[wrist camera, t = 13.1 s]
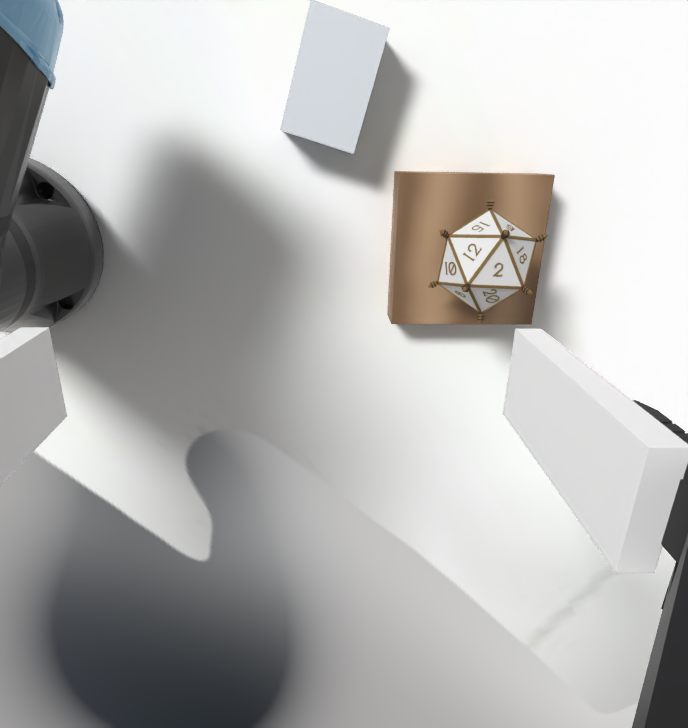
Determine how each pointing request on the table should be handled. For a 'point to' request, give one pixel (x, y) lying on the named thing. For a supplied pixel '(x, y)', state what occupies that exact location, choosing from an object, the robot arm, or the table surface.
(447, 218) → the plinth
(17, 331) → the robot arm
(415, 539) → the table surface
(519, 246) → the game die
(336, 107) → the card box
